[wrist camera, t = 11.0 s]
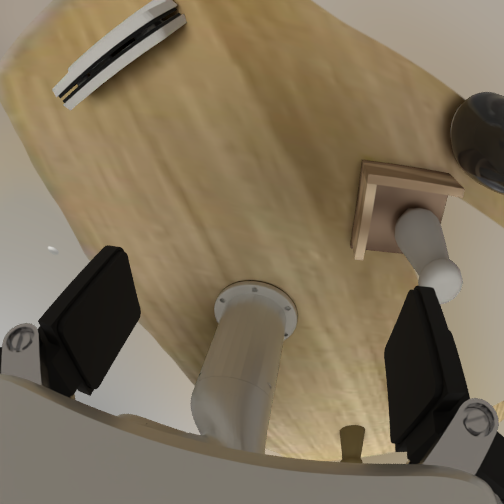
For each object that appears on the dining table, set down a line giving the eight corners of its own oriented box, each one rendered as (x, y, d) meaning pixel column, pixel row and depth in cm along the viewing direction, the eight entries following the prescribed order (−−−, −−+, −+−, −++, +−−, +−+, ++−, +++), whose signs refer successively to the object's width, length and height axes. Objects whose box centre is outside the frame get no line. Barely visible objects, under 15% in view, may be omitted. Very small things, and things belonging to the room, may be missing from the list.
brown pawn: (346, 423, 63) (343, 466, 54) (369, 426, 63) (369, 468, 54) (335, 434, 67) (332, 474, 57) (358, 437, 66) (356, 476, 57)
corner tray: (429, 252, 38) (439, 275, 34) (350, 244, 40) (353, 266, 36) (449, 173, 32) (464, 189, 28) (362, 159, 34) (368, 174, 30)
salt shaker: (441, 207, 33) (483, 270, 23) (426, 247, 37) (456, 318, 26) (398, 196, 34) (429, 258, 23) (385, 238, 37) (405, 310, 26)
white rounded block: (170, -10, 26) (142, -2, 20) (191, 19, 30) (169, 36, 23) (72, 65, 33) (32, 96, 26) (91, 88, 36) (56, 123, 30)
